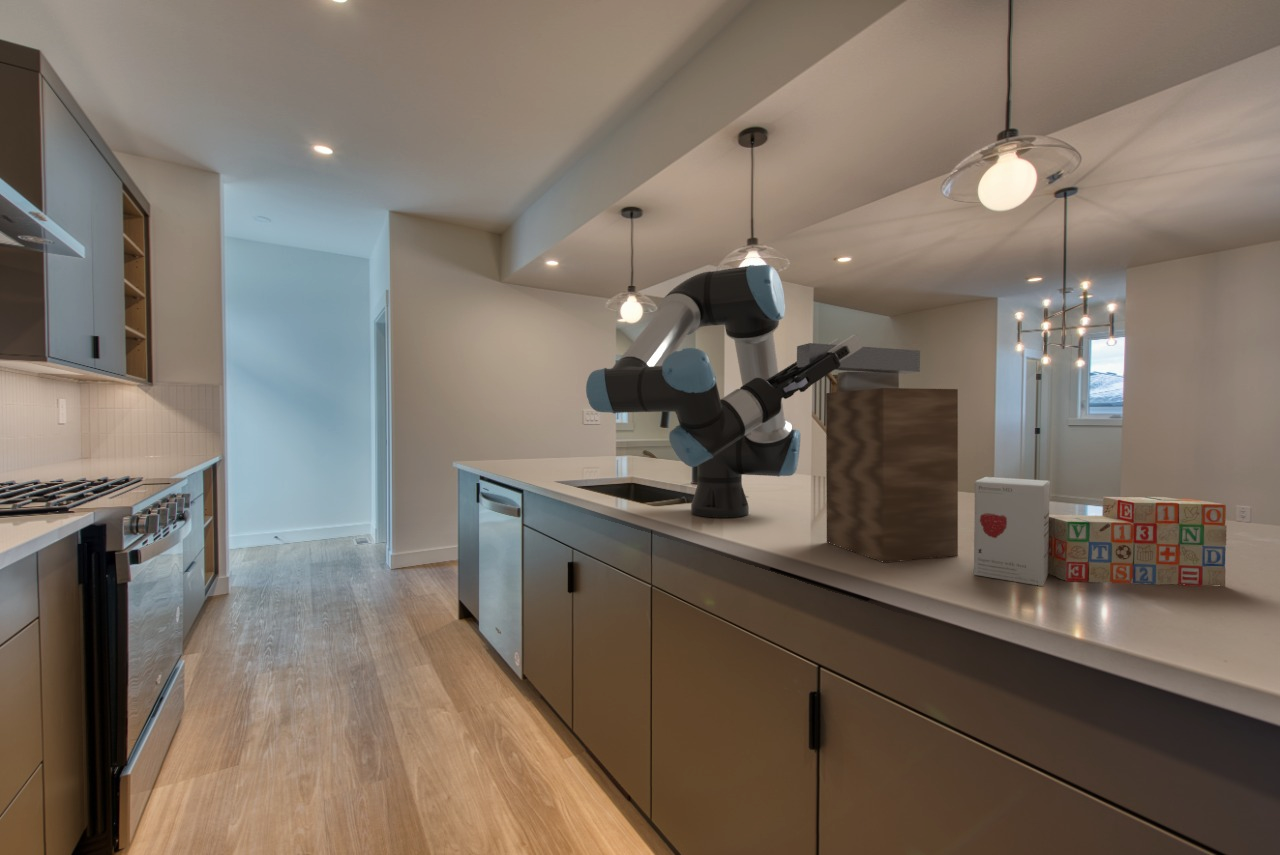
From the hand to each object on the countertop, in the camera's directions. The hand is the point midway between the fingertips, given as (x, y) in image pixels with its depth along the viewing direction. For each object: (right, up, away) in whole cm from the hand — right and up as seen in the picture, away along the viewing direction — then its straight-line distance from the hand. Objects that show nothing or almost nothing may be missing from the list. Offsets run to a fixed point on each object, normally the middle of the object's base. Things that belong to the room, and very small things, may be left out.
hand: (848, 343), depth 98 cm
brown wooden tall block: (+9, -39, +3) cm, 40 cm away
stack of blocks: (+36, -39, -17) cm, 56 cm away
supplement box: (+20, -39, -15) cm, 46 cm away
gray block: (+2, -5, +1) cm, 5 cm away
